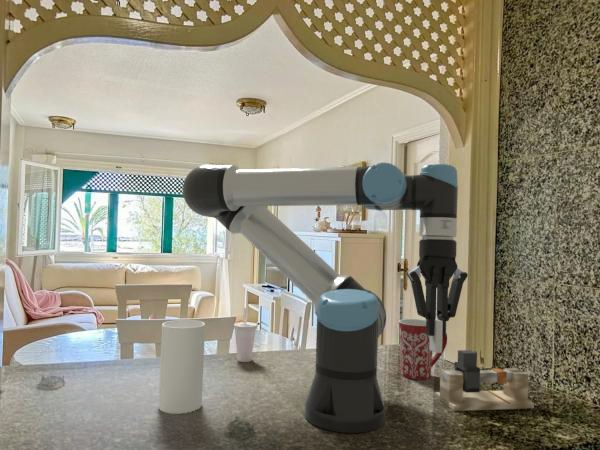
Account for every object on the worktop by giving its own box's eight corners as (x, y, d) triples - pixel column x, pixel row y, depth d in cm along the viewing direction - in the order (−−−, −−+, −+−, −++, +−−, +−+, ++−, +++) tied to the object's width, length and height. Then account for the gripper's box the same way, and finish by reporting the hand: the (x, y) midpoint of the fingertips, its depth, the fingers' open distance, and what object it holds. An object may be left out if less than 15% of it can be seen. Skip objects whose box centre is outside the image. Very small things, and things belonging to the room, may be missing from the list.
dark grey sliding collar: (466, 392, 92) (467, 354, 93) (454, 384, 97) (454, 348, 97) (479, 392, 93) (480, 354, 93) (466, 384, 98) (467, 348, 98)
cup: (198, 396, 93) (201, 319, 94) (204, 411, 86) (208, 327, 86) (157, 400, 90) (160, 320, 91) (159, 416, 83) (163, 328, 83)
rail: (453, 410, 90) (454, 377, 90) (435, 396, 98) (436, 365, 98) (534, 408, 93) (534, 375, 93) (509, 394, 101) (510, 364, 101)
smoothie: (247, 355, 126) (249, 305, 127) (260, 361, 121) (262, 309, 122) (227, 359, 122) (230, 307, 123) (240, 364, 117) (242, 310, 118)
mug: (404, 381, 108) (406, 325, 109) (392, 370, 117) (393, 318, 118) (454, 381, 110) (455, 325, 110) (438, 370, 119) (439, 318, 119)
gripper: (416, 237, 90) (413, 356, 89) (476, 239, 92) (474, 355, 91) (401, 237, 97) (399, 347, 96) (457, 239, 99) (455, 346, 99)
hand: (435, 351), depth 94 cm, fingers closed
